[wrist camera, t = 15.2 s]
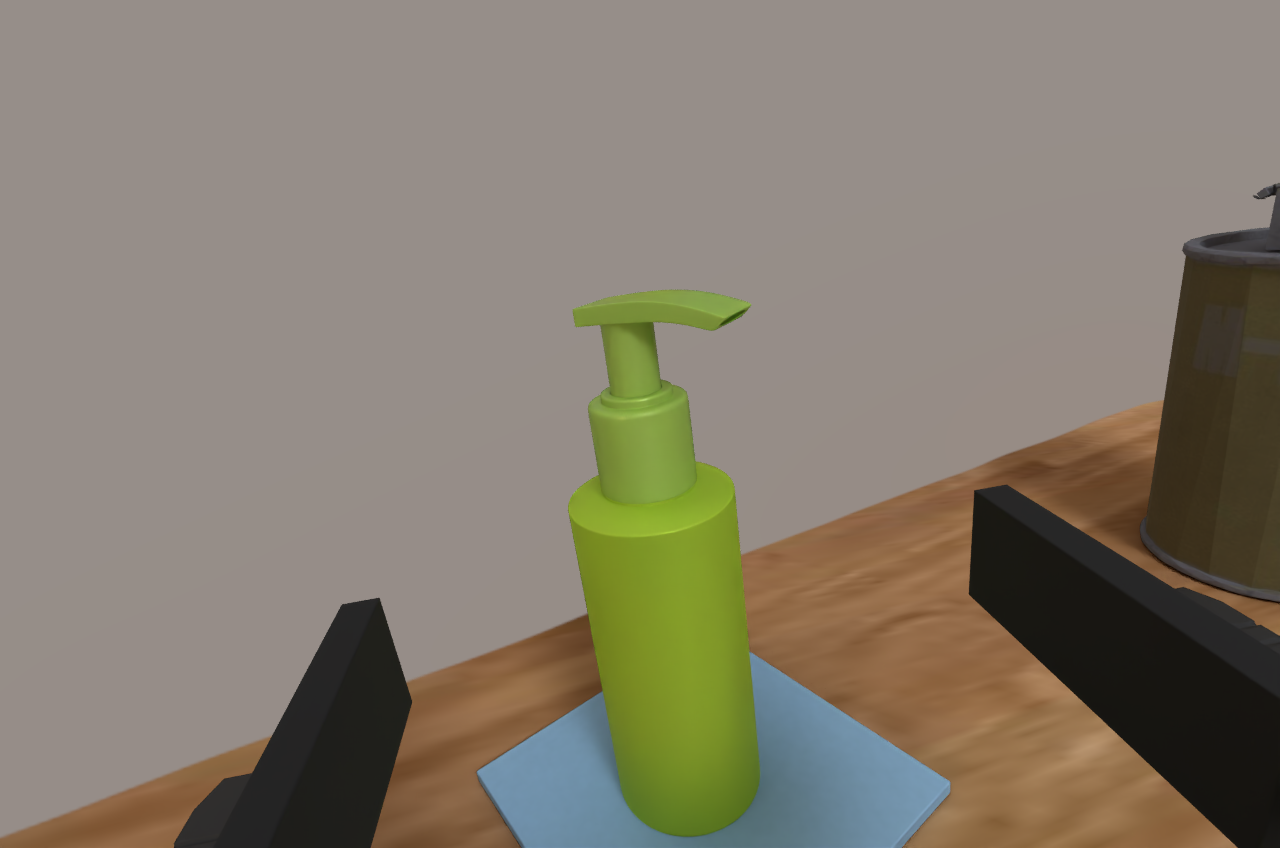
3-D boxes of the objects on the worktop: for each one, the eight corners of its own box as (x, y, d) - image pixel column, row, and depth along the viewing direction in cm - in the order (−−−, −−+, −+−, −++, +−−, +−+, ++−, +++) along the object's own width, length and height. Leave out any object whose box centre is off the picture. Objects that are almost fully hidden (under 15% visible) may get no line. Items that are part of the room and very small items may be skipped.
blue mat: (478, 780, 29) (475, 771, 28) (708, 632, 36) (707, 623, 36) (681, 1099, 18) (678, 1087, 18) (950, 792, 25) (951, 781, 25)
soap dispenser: (746, 878, 22) (685, 316, 16) (592, 797, 26) (491, 318, 20) (805, 754, 27) (778, 274, 20) (666, 700, 31) (604, 282, 24)
